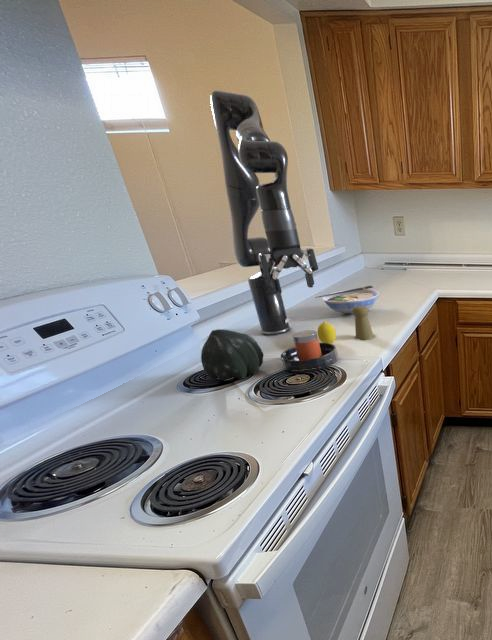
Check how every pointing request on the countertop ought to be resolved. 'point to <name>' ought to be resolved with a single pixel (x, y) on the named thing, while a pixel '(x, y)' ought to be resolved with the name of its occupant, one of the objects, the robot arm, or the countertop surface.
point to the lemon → (326, 333)
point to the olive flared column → (362, 323)
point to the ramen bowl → (351, 299)
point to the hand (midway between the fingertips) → (295, 289)
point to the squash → (230, 355)
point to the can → (307, 344)
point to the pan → (324, 361)
